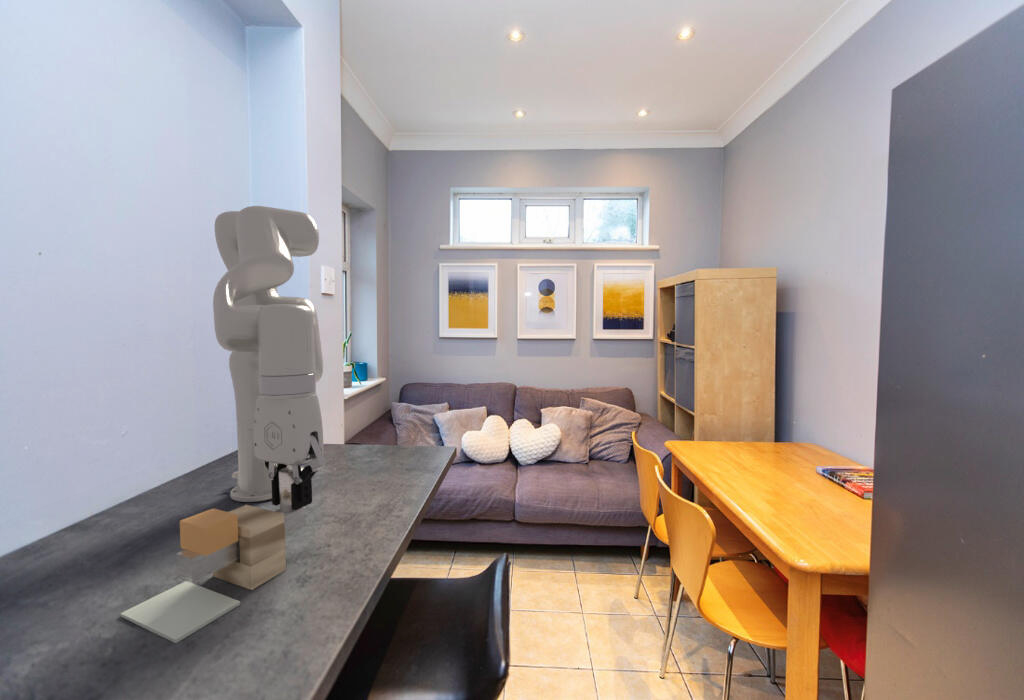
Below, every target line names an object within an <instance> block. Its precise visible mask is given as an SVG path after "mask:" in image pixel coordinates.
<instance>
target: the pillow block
mask: <svg viewBox="0 0 1024 700" xmlns="http://www.w3.org/2000/svg"><path fill="white" fill-rule="evenodd" d="M275 511H276V510H270V509H266V508H263V507H262V508H261V507H256V506H252V505H248V504H245V505H242V506H240V507H236V508H235V509H232V510H229V511H228V512H230V513H233V514H237V516H238V535H239V545H240V559H239V560H237V561H235V562H233V563H231V564H229V565H227V566H225V567H223V568H221V569H219V570H217V571H215V572H213V573H212V577H214V578H216V579H219V580H222V581H225V582H229V583H231V584H232V585H237V586H239V587H242V588H245V589H247V590H251V591H253V590H255V589H256V588H258V587H259V586H261V585H263V584H264V583H266V582H268V581H270V580H271V579H273V578H275V577H277V576H278V575H280V574H282V573H283V572H285V571H286V570H287V563H286V560H287V559H286V558H287V557H286V536H285V526H284V514H283V513H279V512H275Z"/></svg>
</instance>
